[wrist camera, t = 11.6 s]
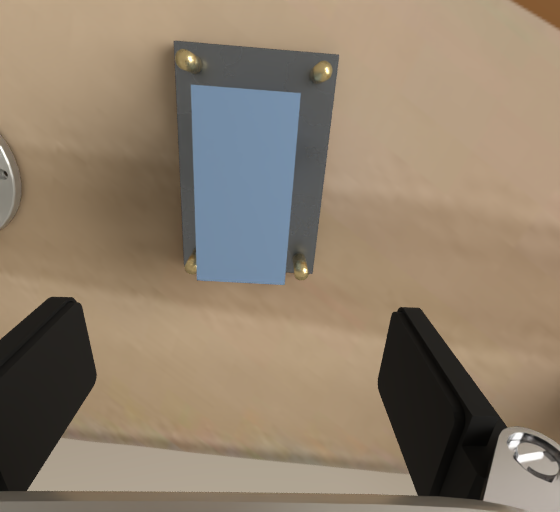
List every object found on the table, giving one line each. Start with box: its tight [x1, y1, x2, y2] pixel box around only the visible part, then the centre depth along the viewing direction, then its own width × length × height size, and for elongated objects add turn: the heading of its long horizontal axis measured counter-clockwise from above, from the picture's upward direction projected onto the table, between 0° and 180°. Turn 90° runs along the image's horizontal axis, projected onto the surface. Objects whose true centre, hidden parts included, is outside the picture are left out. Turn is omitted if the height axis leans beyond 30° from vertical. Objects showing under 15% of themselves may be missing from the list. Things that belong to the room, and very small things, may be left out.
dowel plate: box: [174, 41, 339, 280], centre depth 28 cm, size 12×18×4 cm, turn 176°
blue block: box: [191, 85, 301, 285], centre depth 25 cm, size 12×6×8 cm, turn 176°
